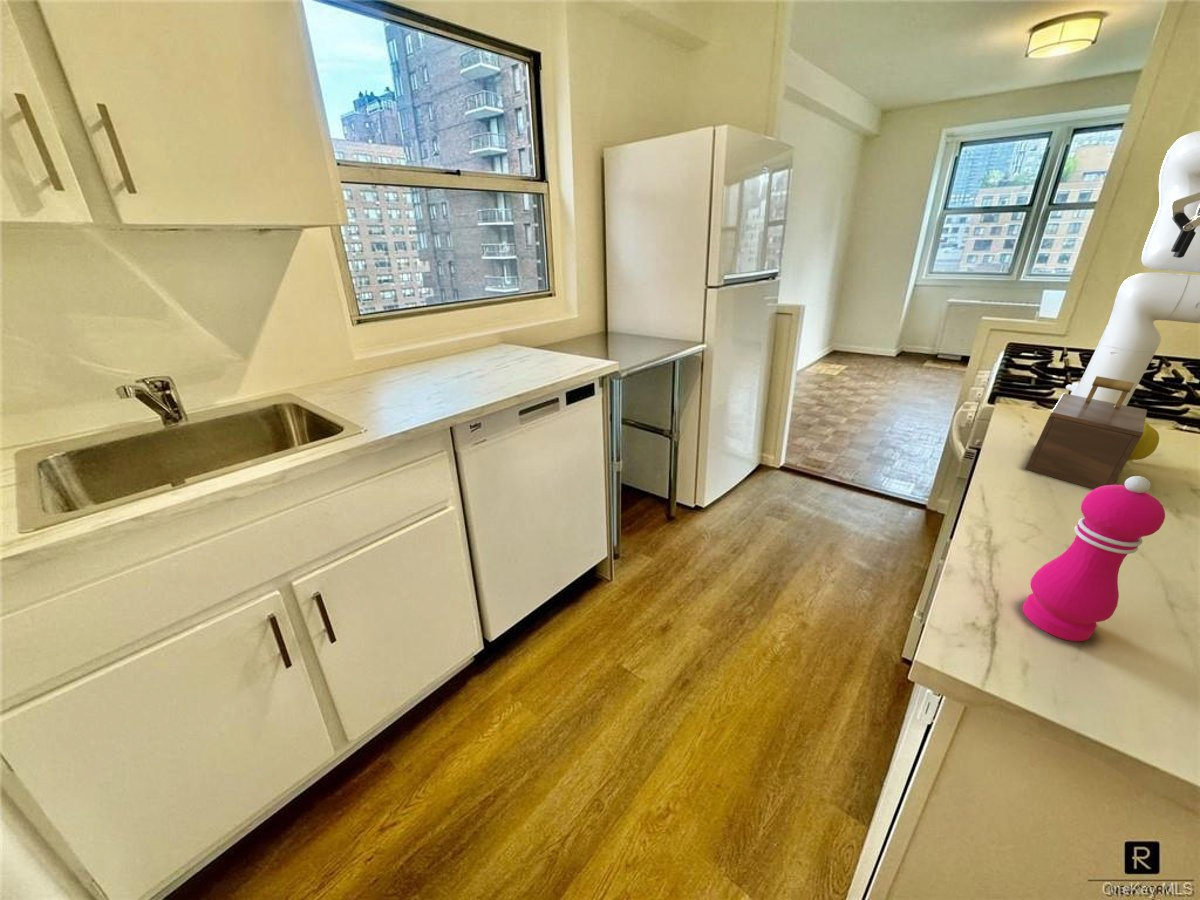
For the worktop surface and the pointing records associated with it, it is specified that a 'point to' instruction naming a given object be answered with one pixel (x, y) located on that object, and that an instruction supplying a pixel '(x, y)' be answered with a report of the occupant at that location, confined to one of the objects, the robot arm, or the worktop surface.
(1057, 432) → the chest
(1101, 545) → the pepper mill
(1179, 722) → the worktop surface
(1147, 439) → the lemon
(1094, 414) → the lid
